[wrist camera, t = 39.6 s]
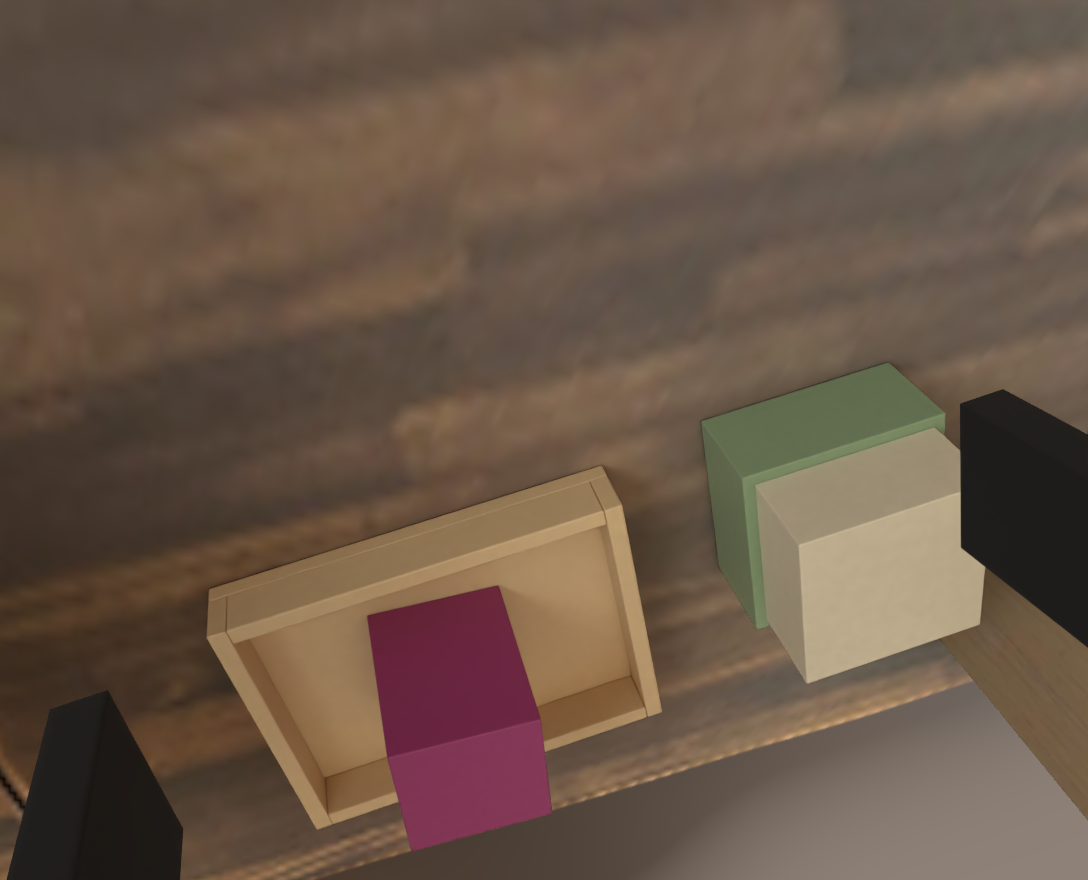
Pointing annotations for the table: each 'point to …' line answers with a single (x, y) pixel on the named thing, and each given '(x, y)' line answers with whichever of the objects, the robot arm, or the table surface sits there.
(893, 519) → the cream block
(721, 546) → the sage block
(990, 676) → the wooden block
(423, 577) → the tray
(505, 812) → the mulberry block
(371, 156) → the table surface
